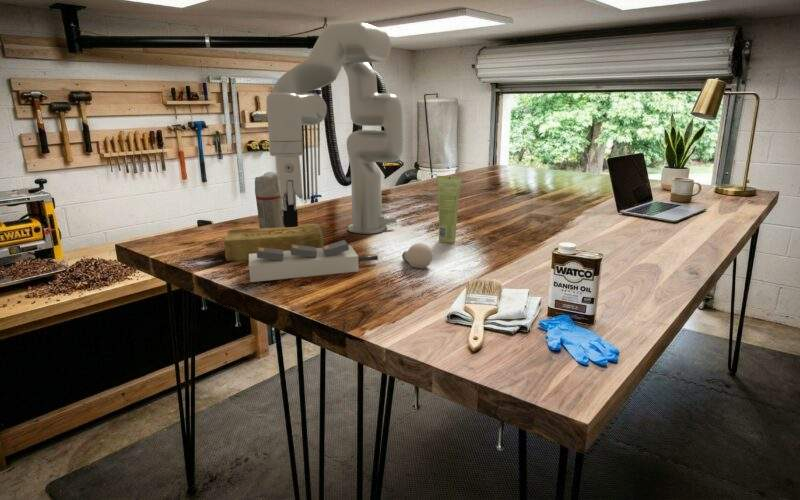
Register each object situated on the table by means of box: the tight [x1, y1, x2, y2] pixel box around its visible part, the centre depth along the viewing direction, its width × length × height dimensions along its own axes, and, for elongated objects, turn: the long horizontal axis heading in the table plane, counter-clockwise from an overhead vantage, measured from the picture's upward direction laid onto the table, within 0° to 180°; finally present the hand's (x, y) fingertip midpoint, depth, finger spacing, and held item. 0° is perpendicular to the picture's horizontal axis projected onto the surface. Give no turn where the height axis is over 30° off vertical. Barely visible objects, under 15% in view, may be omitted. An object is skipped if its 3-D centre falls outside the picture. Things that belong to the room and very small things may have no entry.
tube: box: [436, 175, 463, 244], centre depth 149 cm, size 6×5×20 cm
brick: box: [224, 223, 325, 262], centre depth 142 cm, size 13×26×7 cm, turn 105°
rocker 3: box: [322, 239, 349, 257], centre depth 127 cm, size 6×4×2 cm, turn 105°
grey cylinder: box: [254, 171, 284, 229], centre depth 155 cm, size 8×8×20 cm
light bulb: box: [401, 242, 434, 270], centre depth 130 cm, size 7×7×11 cm
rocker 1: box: [257, 247, 284, 261], centre depth 123 cm, size 6×4×2 cm, turn 107°
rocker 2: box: [290, 244, 317, 258], centre depth 125 cm, size 6×4×2 cm, turn 106°
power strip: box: [248, 244, 379, 283], centre depth 128 cm, size 32×10×4 cm, turn 106°
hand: (291, 226), depth 122 cm, fingers closed
